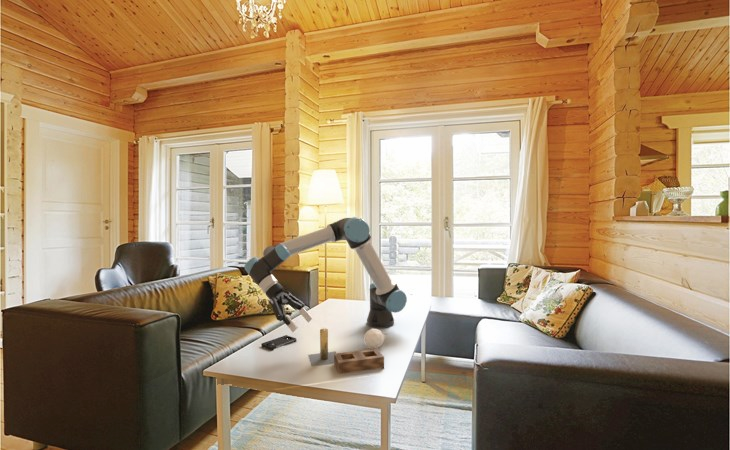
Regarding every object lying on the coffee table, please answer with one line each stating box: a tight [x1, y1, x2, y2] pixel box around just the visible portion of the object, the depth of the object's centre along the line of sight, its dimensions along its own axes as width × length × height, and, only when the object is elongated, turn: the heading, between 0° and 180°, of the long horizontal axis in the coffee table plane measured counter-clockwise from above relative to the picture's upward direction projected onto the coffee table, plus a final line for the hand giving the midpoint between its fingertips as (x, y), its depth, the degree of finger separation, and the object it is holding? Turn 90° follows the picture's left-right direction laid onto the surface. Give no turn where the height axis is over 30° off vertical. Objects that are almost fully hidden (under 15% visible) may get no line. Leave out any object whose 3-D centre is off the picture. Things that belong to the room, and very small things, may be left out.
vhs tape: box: [261, 334, 297, 351], centre depth 159 cm, size 14×8×2 cm, turn 142°
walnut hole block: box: [333, 348, 385, 375], centre depth 134 cm, size 18×9×4 cm, turn 106°
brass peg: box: [319, 328, 329, 360], centre depth 141 cm, size 3×3×12 cm
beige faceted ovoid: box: [363, 327, 387, 349], centre depth 154 cm, size 9×9×12 cm
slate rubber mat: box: [307, 351, 337, 367], centre depth 141 cm, size 12×12×1 cm
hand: (303, 325), depth 143 cm, fingers open, 13 cm apart
